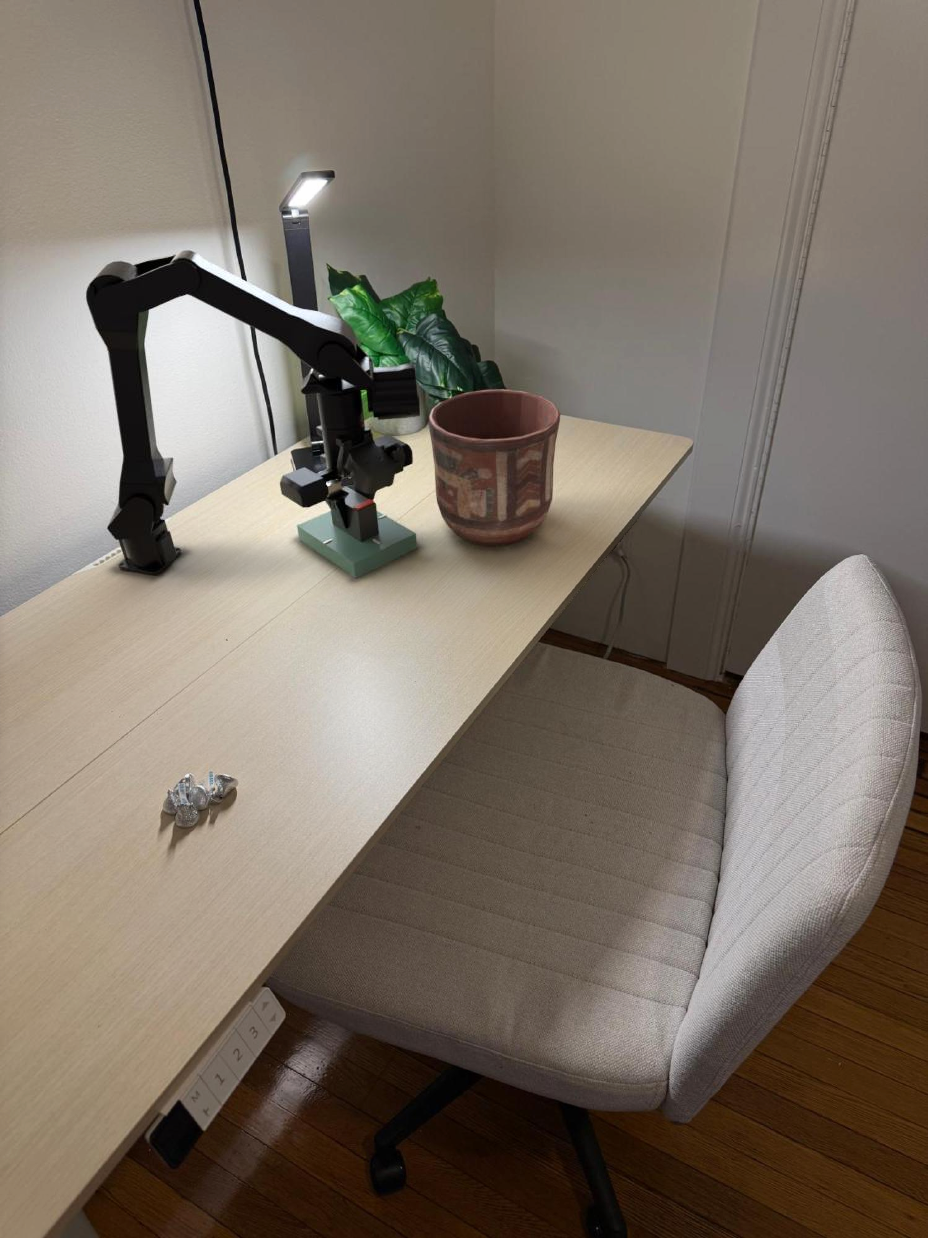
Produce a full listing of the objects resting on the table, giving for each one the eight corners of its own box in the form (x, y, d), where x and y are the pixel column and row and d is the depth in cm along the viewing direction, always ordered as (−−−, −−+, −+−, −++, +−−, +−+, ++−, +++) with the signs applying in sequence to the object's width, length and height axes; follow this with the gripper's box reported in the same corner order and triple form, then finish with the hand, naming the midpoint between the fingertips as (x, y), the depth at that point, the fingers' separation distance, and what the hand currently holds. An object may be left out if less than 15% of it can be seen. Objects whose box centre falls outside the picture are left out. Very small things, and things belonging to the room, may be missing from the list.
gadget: (332, 524, 119) (328, 492, 116) (350, 516, 121) (346, 484, 118) (361, 542, 115) (357, 509, 112) (379, 533, 117) (376, 501, 114)
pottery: (518, 571, 113) (520, 451, 102) (413, 538, 120) (404, 423, 109) (573, 514, 125) (580, 401, 114) (474, 487, 132) (472, 379, 121)
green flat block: (298, 540, 121) (295, 524, 119) (359, 513, 127) (357, 497, 125) (355, 578, 112) (353, 562, 111) (417, 547, 118) (416, 532, 117)
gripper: (318, 463, 98) (334, 571, 108) (435, 417, 108) (440, 520, 118) (269, 435, 105) (287, 539, 114) (383, 394, 115) (392, 493, 124)
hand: (354, 523), depth 117 cm, fingers closed on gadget, 3 cm apart
